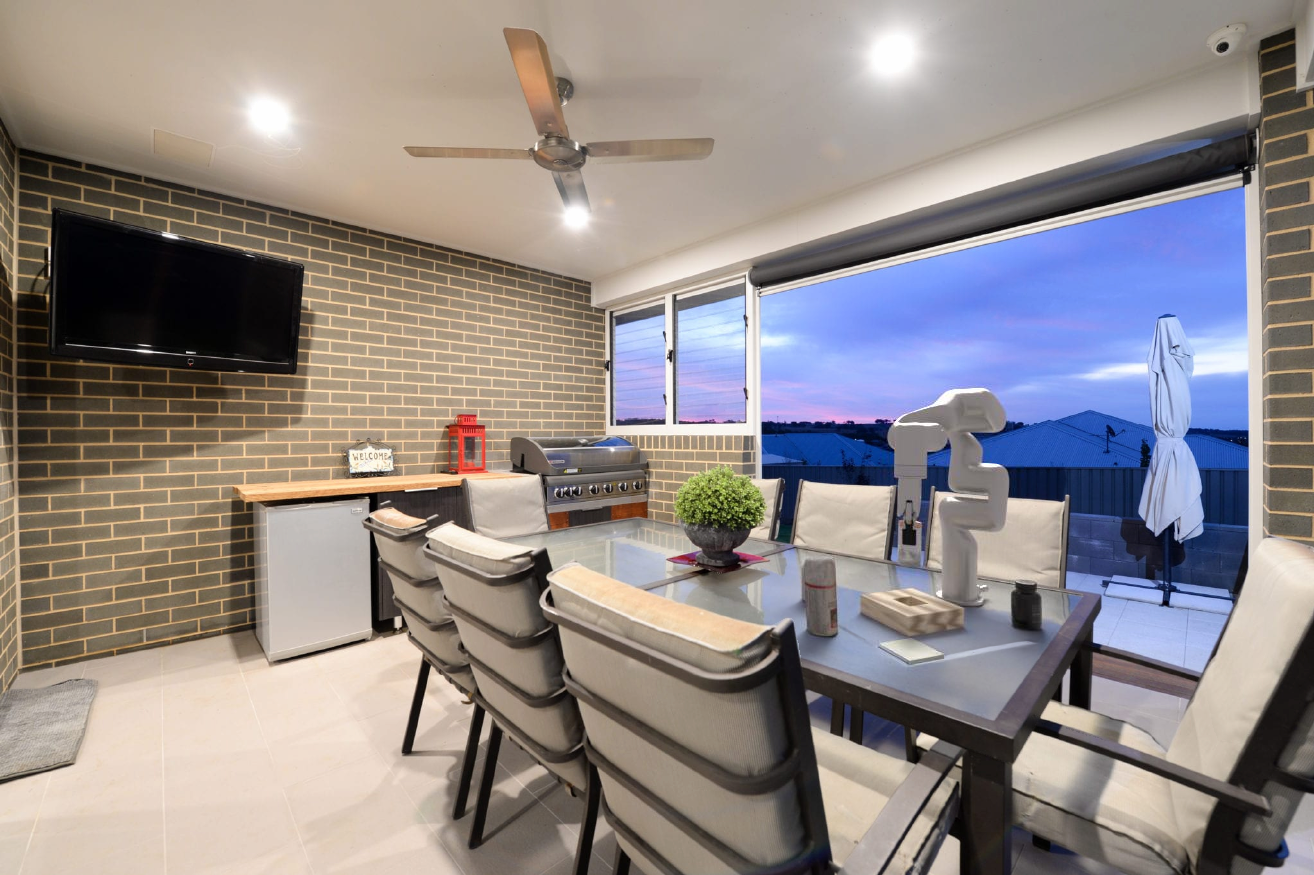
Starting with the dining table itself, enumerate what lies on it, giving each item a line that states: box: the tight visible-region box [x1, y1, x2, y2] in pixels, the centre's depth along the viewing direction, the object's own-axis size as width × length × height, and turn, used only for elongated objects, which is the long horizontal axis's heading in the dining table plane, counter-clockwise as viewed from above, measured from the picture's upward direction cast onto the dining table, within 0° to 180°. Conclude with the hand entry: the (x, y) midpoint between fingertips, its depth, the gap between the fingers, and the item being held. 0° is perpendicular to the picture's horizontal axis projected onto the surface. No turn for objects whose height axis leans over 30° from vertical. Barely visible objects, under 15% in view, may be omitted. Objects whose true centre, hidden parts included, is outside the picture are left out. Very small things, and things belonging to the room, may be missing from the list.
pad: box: [877, 637, 945, 666], centre depth 126 cm, size 10×10×1 cm
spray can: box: [804, 554, 839, 637], centre depth 140 cm, size 8×8×20 cm
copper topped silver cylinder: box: [896, 519, 923, 569], centre depth 136 cm, size 5×5×11 cm
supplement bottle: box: [1010, 579, 1043, 632], centre depth 142 cm, size 7×7×12 cm
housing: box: [859, 587, 965, 638], centre depth 145 cm, size 18×18×6 cm
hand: (909, 542), depth 136 cm, fingers closed on copper topped silver cylinder, 5 cm apart
